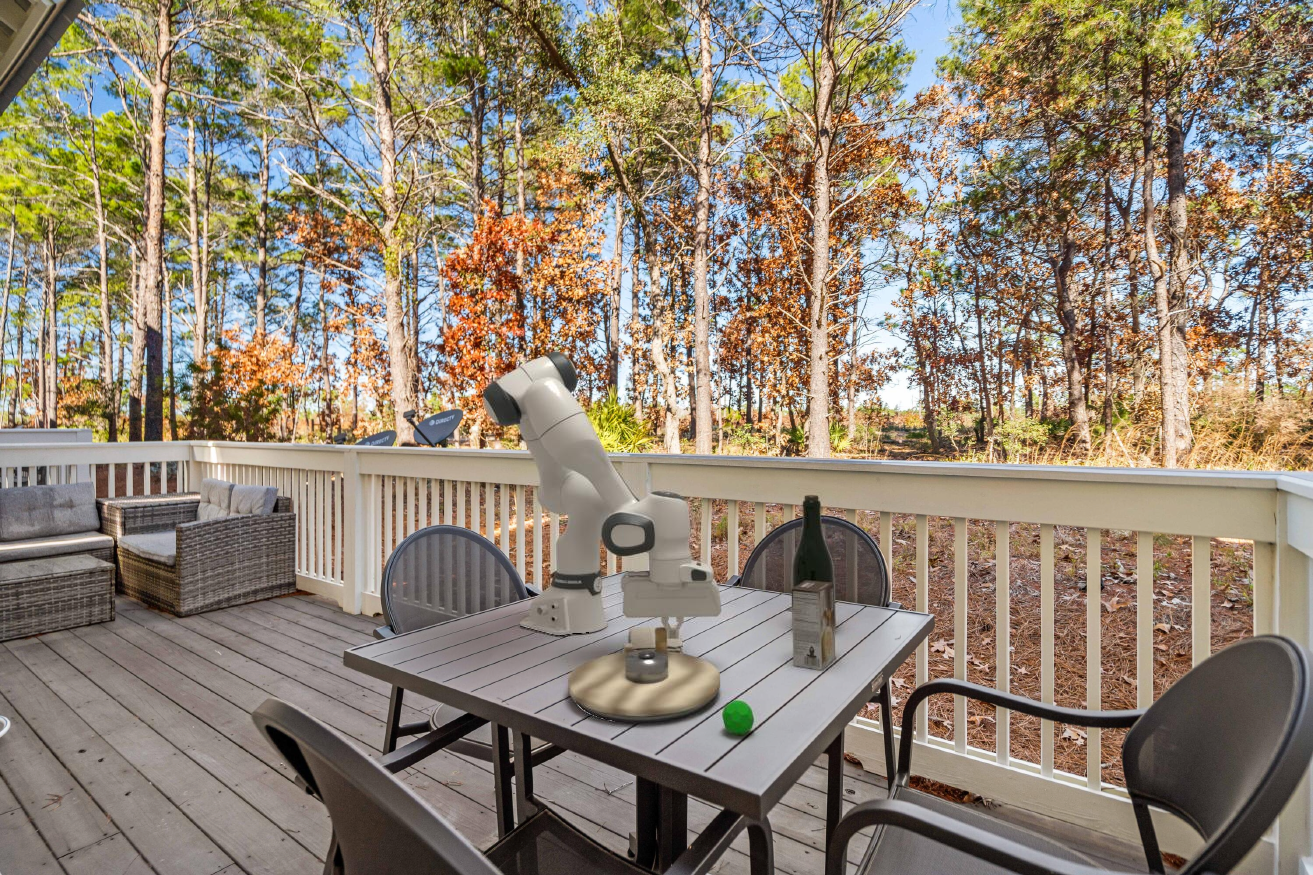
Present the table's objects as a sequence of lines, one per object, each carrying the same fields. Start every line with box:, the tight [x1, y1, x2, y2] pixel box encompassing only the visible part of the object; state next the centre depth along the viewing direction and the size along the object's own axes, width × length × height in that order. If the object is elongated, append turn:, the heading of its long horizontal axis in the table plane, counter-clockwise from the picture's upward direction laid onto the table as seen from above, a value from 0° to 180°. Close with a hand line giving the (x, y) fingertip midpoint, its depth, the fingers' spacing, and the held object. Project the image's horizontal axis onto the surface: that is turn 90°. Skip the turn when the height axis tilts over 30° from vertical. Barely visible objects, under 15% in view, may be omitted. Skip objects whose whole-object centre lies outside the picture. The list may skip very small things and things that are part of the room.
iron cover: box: [625, 650, 668, 684], centre depth 116 cm, size 8×8×4 cm
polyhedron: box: [721, 700, 755, 736], centre depth 100 cm, size 5×5×5 cm
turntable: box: [567, 626, 721, 716], centre depth 117 cm, size 28×28×6 cm
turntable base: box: [575, 642, 716, 725], centre depth 117 cm, size 26×26×4 cm
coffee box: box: [791, 580, 836, 671], centre depth 131 cm, size 9×6×16 cm
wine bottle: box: [791, 494, 837, 631], centre depth 153 cm, size 10×10×33 cm
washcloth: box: [628, 624, 684, 654], centre depth 144 cm, size 12×18×3 cm, turn 5°
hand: (673, 637), depth 129 cm, fingers closed
